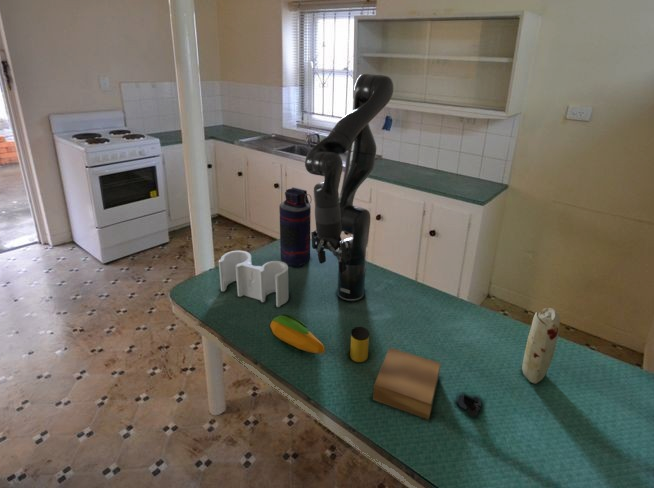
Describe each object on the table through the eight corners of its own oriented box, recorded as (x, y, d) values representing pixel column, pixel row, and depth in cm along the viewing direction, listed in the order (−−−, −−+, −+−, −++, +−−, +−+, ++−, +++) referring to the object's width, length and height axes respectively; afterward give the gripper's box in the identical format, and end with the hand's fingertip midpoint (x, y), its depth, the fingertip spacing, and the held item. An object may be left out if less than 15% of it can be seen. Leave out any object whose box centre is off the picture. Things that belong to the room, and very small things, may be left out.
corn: (280, 303, 124) (333, 331, 113) (282, 323, 127) (333, 351, 116) (263, 317, 118) (316, 347, 107) (265, 337, 121) (317, 368, 110)
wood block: (388, 361, 113) (389, 347, 111) (438, 377, 108) (440, 362, 107) (372, 399, 101) (374, 384, 99) (429, 419, 96) (431, 404, 94)
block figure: (462, 384, 103) (485, 394, 101) (461, 391, 104) (483, 401, 101) (455, 401, 99) (479, 412, 96) (454, 408, 99) (477, 419, 97)
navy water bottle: (298, 271, 155) (298, 199, 145) (274, 262, 161) (272, 192, 150) (318, 256, 167) (319, 188, 156) (295, 248, 172) (294, 182, 162)
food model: (545, 391, 105) (562, 329, 98) (517, 380, 108) (532, 319, 101) (548, 367, 113) (565, 308, 106) (523, 357, 116) (537, 299, 109)
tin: (355, 346, 118) (356, 324, 115) (371, 353, 116) (372, 331, 113) (346, 357, 114) (347, 334, 111) (362, 365, 112) (363, 341, 109)
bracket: (294, 293, 142) (293, 263, 138) (280, 309, 133) (279, 277, 129) (234, 276, 151) (232, 247, 146) (218, 290, 142) (215, 260, 138)
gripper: (355, 219, 114) (358, 269, 120) (320, 208, 124) (324, 254, 129) (336, 229, 109) (340, 280, 115) (302, 216, 119) (307, 264, 124)
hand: (332, 266), depth 122 cm, fingers open, 8 cm apart
